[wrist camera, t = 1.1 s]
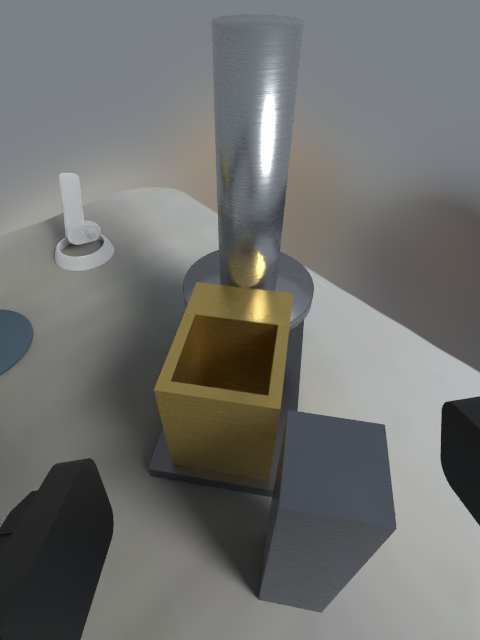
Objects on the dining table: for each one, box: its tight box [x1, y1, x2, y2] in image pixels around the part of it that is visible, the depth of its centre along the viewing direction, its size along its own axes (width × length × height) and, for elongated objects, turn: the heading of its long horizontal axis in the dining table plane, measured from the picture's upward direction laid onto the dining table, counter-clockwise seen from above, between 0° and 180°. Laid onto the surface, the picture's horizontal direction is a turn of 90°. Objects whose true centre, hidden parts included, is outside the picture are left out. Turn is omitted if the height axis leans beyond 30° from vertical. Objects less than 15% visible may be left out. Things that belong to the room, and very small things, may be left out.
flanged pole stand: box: [148, 15, 314, 497], centre depth 27 cm, size 19×11×27 cm, turn 170°
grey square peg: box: [259, 410, 396, 612], centre depth 20 cm, size 4×4×16 cm
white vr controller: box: [55, 173, 114, 271], centre depth 51 cm, size 8×12×7 cm
